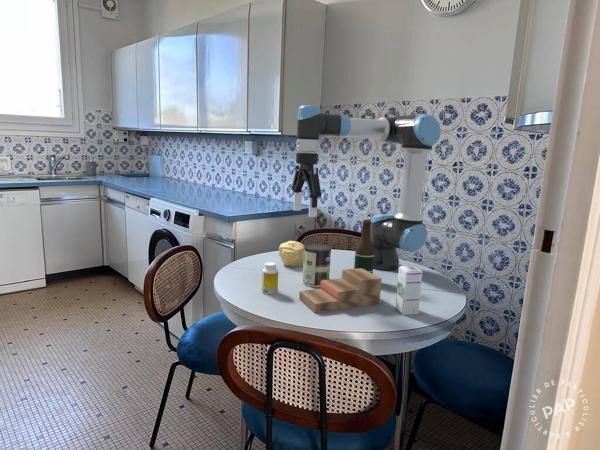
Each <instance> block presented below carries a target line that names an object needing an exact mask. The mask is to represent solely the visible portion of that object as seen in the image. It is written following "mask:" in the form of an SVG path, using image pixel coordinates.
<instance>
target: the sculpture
mask: <svg viewBox="0 0 600 450" xmlns="http://www.w3.org/2000/svg"><path fill="white" fill-rule="evenodd" d="M304 246H305V245H304V244H303V243H302V242H299V241H296V240H288V241H286V242H283V243H280V245H279V246H278V256H279V257H280V260H281V261H282V263H283V265H284V266H287V267H289V268H299V267H302V266H303V263H304Z"/></svg>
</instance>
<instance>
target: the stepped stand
mask: <svg viewBox="0 0 600 450" xmlns="http://www.w3.org/2000/svg"><path fill="white" fill-rule="evenodd" d="M320 286H321V287H320V288H315V289H306V290H299V299H298V300H299V301H300V302H301V303H303V304H304V305H305V306H306V307H307V308H308V309H310V310H311V311H312V312H313V313H314V314H317V313H325V312H331V311H338V310H347V309H355V308H362V307H369V306H376V305H377V306H378V305H380V301H381V299H380V298H381V290H382V289H381V288H382V277H379V276H378V275H375V274H374V273H373V274H372V273H370V272H368V271H366V270H365V269H363V268H358V269H354V268H350V269H349V268H348V269H342V273H341V278H329V280H321V283H320Z"/></svg>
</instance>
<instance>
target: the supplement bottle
mask: <svg viewBox="0 0 600 450" xmlns="http://www.w3.org/2000/svg"><path fill="white" fill-rule="evenodd" d="M261 274H262V275H261V291H262V293H263V294H267V295H273V294H276V293H277V292H278V291H279V290H278V287H279V286H278V285H279V284H278V283H279V269H278V268H277V263H275V262H272V261H270V262H269V261H267V262H265V263H264V268H263V269H262V270H261Z"/></svg>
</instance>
